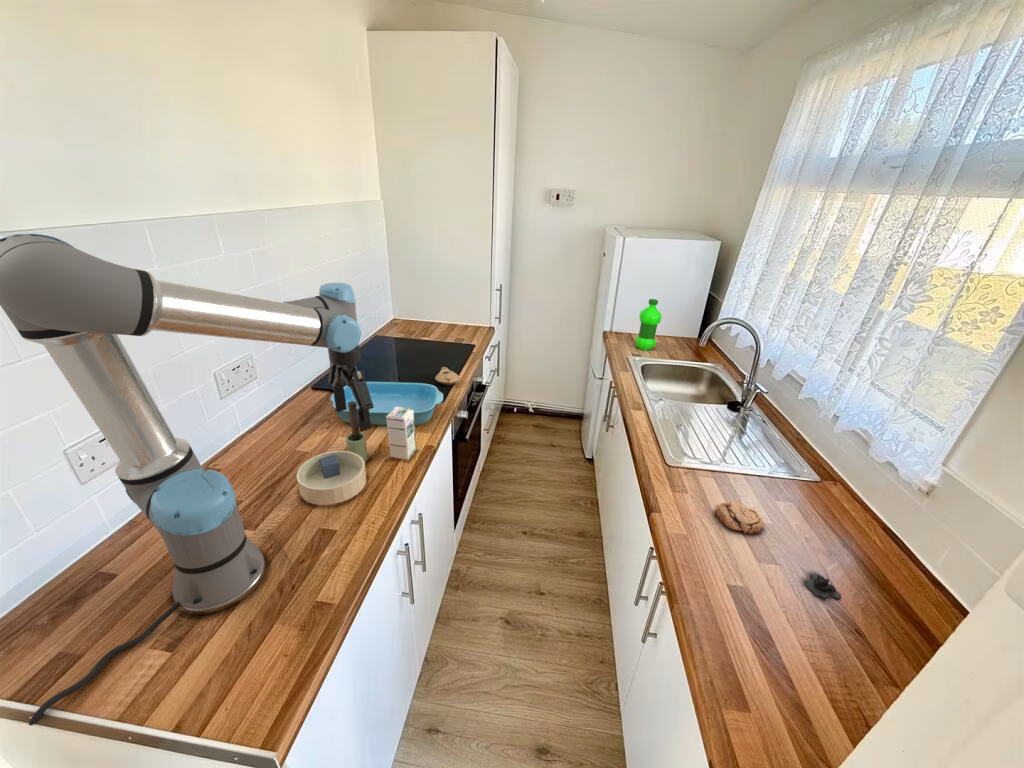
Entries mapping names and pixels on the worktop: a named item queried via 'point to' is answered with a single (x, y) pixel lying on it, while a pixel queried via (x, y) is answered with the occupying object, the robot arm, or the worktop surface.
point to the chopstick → (354, 420)
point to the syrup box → (401, 432)
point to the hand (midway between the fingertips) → (353, 419)
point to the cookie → (739, 517)
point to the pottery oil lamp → (446, 376)
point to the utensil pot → (357, 446)
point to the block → (329, 466)
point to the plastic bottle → (648, 326)
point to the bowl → (332, 479)
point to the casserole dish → (396, 400)
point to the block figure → (822, 587)
